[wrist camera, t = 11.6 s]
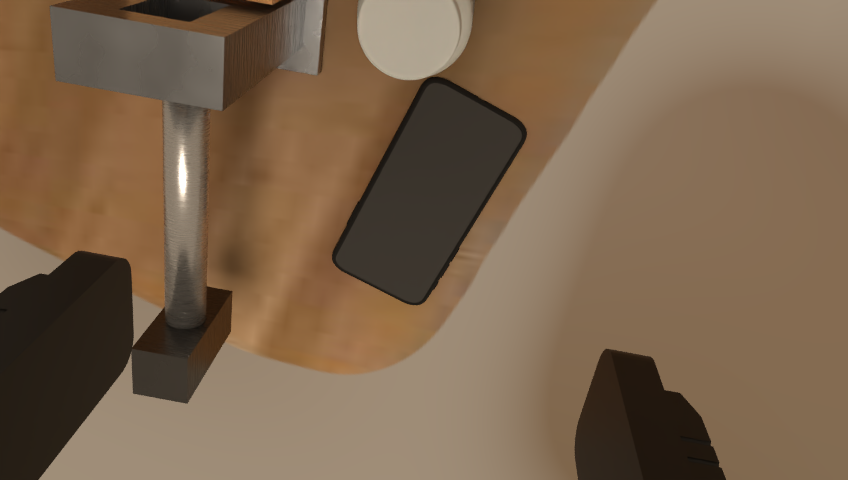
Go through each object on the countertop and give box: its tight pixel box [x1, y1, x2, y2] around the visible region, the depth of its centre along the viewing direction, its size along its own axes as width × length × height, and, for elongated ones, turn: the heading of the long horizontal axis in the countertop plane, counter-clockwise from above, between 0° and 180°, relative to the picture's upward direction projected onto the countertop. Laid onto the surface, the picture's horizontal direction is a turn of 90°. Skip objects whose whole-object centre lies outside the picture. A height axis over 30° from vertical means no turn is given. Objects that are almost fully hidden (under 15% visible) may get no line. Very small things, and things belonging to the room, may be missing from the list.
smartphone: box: [332, 77, 527, 305], centre depth 45 cm, size 7×1×15 cm
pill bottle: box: [357, 0, 475, 80], centre depth 36 cm, size 6×6×10 cm
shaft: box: [131, 100, 232, 403], centre depth 37 cm, size 18×3×7 cm, turn 171°
